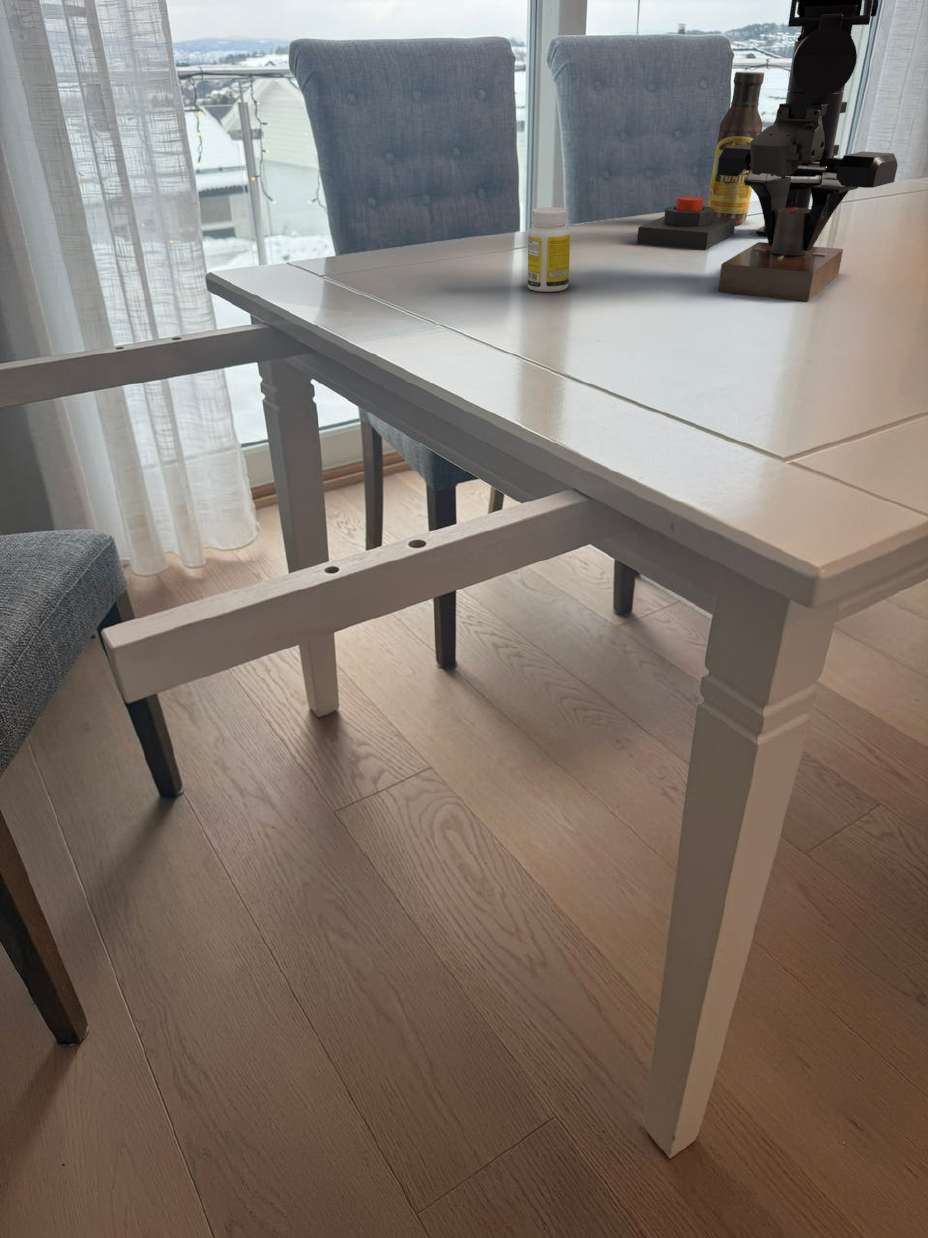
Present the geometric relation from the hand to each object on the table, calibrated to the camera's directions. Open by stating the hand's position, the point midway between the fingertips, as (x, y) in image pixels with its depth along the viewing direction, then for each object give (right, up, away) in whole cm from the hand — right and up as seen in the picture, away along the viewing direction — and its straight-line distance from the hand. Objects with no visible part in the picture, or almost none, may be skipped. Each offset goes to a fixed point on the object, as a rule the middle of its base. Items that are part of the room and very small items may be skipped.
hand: (789, 247), depth 104 cm
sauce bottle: (+3, +18, +34) cm, 39 cm away
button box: (-6, +11, +24) cm, 27 cm away
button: (-6, +14, +22) cm, 27 cm away
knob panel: (-1, -4, +1) cm, 4 cm away
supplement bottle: (-28, -4, +1) cm, 28 cm away
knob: (0, 0, 0) cm, 0 cm away
